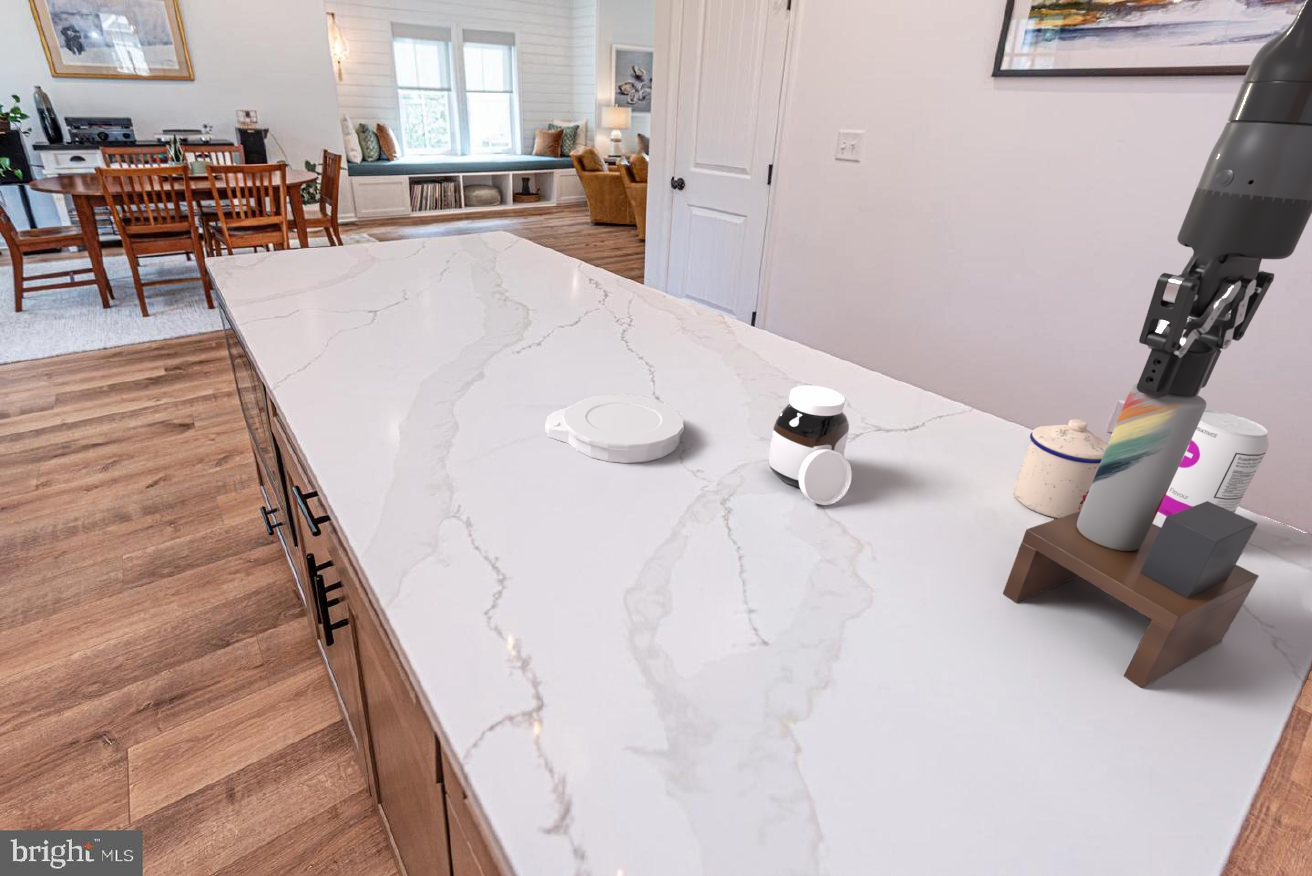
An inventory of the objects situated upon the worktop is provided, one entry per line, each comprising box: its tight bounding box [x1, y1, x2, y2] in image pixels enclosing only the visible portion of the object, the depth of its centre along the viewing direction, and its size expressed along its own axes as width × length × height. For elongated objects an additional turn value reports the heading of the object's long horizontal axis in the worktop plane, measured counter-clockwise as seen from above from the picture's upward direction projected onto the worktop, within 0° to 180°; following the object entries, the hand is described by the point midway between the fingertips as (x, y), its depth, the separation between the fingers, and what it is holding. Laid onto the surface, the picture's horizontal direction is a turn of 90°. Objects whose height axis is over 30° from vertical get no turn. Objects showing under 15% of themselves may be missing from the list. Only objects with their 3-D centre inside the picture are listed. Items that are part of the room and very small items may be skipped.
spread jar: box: [768, 384, 853, 506], centre depth 86 cm, size 12×11×12 cm
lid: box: [544, 393, 685, 464], centre depth 97 cm, size 17×20×3 cm
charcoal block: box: [1141, 501, 1258, 598], centre depth 60 cm, size 7×4×6 cm, turn 118°
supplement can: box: [1153, 409, 1270, 527], centre depth 81 cm, size 8×8×15 cm
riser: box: [1002, 511, 1260, 689], centre depth 66 cm, size 14×14×8 cm
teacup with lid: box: [1013, 418, 1108, 519], centre depth 87 cm, size 12×9×12 cm
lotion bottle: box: [1077, 338, 1217, 551], centre depth 62 cm, size 6×6×20 cm
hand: (1170, 389), depth 60 cm, fingers open, 5 cm apart
